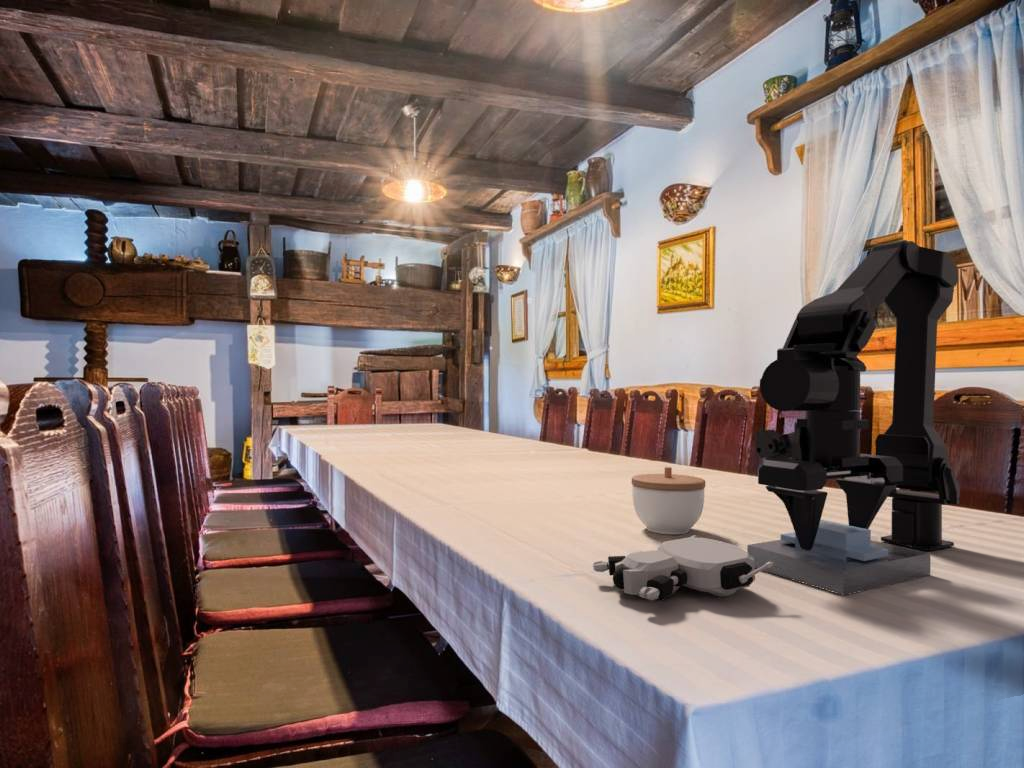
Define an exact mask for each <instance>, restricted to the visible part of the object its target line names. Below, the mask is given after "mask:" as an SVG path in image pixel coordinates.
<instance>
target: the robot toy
mask: <svg viewBox="0 0 1024 768" xmlns="http://www.w3.org/2000/svg"><path fill="white" fill-rule="evenodd" d="M607 560H608V561H605V560H598V561H597V560H596V561H594V562H593V563H592V567H593V570H594V571H595V572H598V573H604V572H605V571H608V573H609V576H612V582H613V585H614V586H615V587H616V589H618V590H621V591H624V594H627V595H632V596H633V595H635V596H638V597H639V598H642V599H645V600H647V601H651V602H652V601H656V602H659V601H663V600H665V599H667V598H669V597H670V596H672V595H673V594H674V593H675V592H676V591H677V590H679V588H680V587H682V586H683V587H685V588H688V589H691V590H692V589H693V590H695V591H700V592H704V593H709V594H711V595H713V596H715V597H721V598H723V597H724V598H726V597H729V596H731V595H732V594H733V595H734V593H736V592H737V591H738V590H740V589H744V588H749V587H750V586H751V585H752V584H753V582H755V580H756V575H757V574H759V573H760V572H763V571H762V570H764V569H766V568H769V567H771V566H772V565H773V562H767V563H766V564H765V565H764V566H762V567H760V568H758V569H755V566H754V559H753V557H752V556H751V555H749V554H748V553H747V551H746V550H745V549H743V548H741V547H738V546H736V545H734V544H732V543H728V542H725V541H721V540H716V539H711V538H708V537H707V538H706V537H698V535H695V534H694V535H691V536H689V537H683V538H678V539H677V538H676V539H672V540H668V541H667V540H666V541H663V542H661V544H660V545H659V546H658V547H657V548H656V549H654V550H647V551H646V550H644V551H637V552H630V553H628V554H627V555H626V556H625V555H613V556H611V555H610V556H608V557H607Z"/></svg>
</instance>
